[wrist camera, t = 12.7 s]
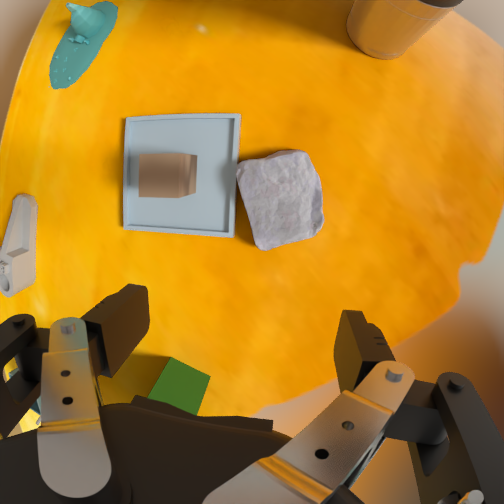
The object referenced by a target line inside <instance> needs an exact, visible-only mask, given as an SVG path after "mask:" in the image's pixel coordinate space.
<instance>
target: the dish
mask: <svg viewBox="0 0 504 504" xmlns="http://www.w3.org/2000/svg"><path fill="white" fill-rule="evenodd" d="M240 129H241V115H240V114H226V113H203V114H170V115H152V116H139V117H128V118H126V127H125V143H124V168H123V222H124V230H138V231H152V232H166V233H179V234H192V235H205V236H218V237H231V238H233V237H234V236H235V218H236V199H237V177H236V174H235V173H236V171H235V169H236V166H237V164H238V162H239V146H240ZM162 153H182V154H191V155H197V177H196V193H194V194H191V195H187V196H184V197H181V198H153V197H139V154H162Z"/></svg>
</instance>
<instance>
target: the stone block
mask: <svg viewBox="0 0 504 504" xmlns="http://www.w3.org/2000/svg"><path fill="white" fill-rule="evenodd" d="M235 171H236V173H235V174H236V177H237V181H238V185H239V189H240V192H241V196H242V199H243V202H244V206H245V208H246V211H247V214H248V218H249V221H250V225H251V228H252V234H253V238H254V242H255V245H256V246H257V248H259V249H260V250H263V251H267V250H270V249H272V248H276V247H278V246H280V245H284V244H288V243H292V242H297V241H300V240H304V239H309V238H311V237H313V236H315V235H316V234H317V232H319V231H320V230H321V228H322V225H323V223H324V215H323V212H322V203H323V198H322V188H321V182H320V178H319V176H318V174H317V172H316V171H315V168H314V166H313V165H312V163H311V161H310V158H309V155H308V154H307V153H306V152H304V151H301V150H288V151H285V150H283V151H278V152H276V153H274V154H272V155H268V156H267V157H266V158H260V159H248V160H244V161H242V162H240V163H239V164H237V166H236V169H235Z"/></svg>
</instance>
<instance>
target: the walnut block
mask: <svg viewBox="0 0 504 504" xmlns="http://www.w3.org/2000/svg"><path fill="white" fill-rule="evenodd" d="M196 177H197V155H191V154H182V153H162V154H139V197H153V198H181V197H184V196H187V195H191V194H194V193H196Z"/></svg>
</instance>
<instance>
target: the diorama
mask: <svg viewBox="0 0 504 504" xmlns="http://www.w3.org/2000/svg"><path fill="white" fill-rule="evenodd" d="M66 7H67V8H68V9H69V10H70V11H71V12H72V15H71V21H70V24H71V25H70V26H69V28H68V29H67V31H66V32H65V34H64V36H63V37H62V39H61V41H60V43H59V44H58V46H57V48H56V50H55V52H54V55H53V58H52V61H51V64H50V74H49V76H50V81H51V86H52V88H53V89H59V88H67V87H69V86H70V85H72V84H73V83H75V82H76V81H77V80H78V79H79V77H80V76H81V75H82V74H83V73H84V72H85V71H86V70H87V69H88V67H89V66H90V64H91V63H92V61H93V60H94V59H95V57H96V56H97V54H98V52H99V50H100V48H101V46H102V44H103V42H104V41H105V39H106V38H107V37H108V35H109V34H110V32H111V31H112V29H113V28H114V25H115V22H116V19H117V12H118V7H117V6H115V5H114V4H113V3H111V2H108V1H104V2H99V3H96V4H94V5H93V6H91V7H85V6H80V5H76V4H72V3H67V4H66Z"/></svg>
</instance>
